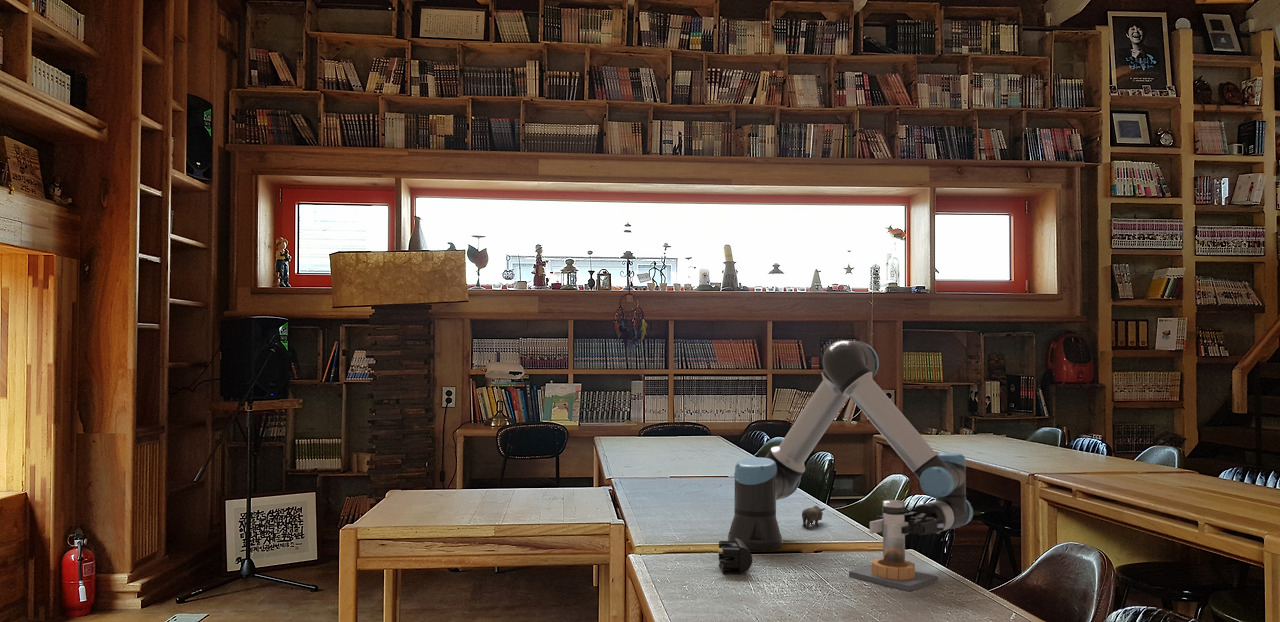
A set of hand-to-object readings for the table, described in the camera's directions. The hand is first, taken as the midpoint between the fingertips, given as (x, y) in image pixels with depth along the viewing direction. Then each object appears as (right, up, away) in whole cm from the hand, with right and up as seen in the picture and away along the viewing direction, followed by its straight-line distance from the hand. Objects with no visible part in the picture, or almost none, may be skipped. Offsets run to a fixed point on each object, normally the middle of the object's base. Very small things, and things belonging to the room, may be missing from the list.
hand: (881, 529), depth 190 cm
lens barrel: (+4, -8, +3) cm, 10 cm away
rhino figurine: (-2, -16, +64) cm, 66 cm away
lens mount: (+4, -13, +3) cm, 13 cm away
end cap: (-34, -13, +9) cm, 37 cm away
